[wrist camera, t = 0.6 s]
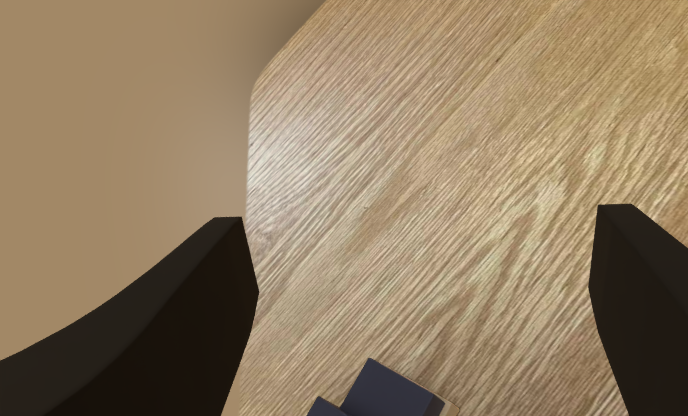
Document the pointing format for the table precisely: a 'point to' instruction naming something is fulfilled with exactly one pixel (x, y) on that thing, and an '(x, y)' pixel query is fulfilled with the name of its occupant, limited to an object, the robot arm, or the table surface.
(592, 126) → the table surface
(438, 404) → the dark stepped block
